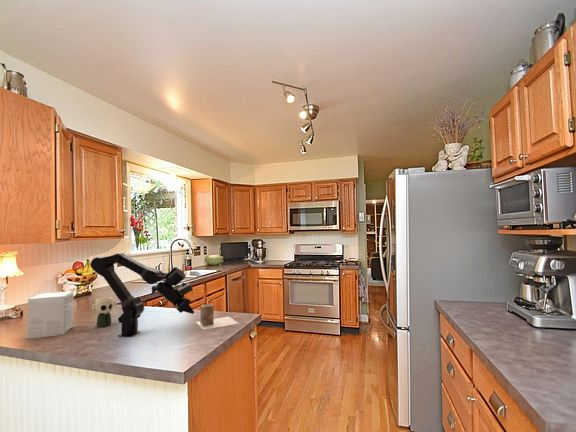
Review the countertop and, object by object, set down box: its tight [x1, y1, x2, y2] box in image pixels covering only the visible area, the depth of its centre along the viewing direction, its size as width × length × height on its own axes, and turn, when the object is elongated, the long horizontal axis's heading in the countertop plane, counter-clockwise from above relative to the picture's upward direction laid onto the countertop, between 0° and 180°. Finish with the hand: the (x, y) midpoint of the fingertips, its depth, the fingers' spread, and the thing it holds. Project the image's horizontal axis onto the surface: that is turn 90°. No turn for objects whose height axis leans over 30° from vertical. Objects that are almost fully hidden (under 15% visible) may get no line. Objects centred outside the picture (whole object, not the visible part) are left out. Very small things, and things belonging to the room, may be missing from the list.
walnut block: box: [199, 303, 215, 327], centre depth 137 cm, size 5×5×9 cm
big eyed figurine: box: [91, 297, 117, 327], centre depth 140 cm, size 11×7×13 cm, turn 145°
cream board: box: [196, 316, 239, 331], centre depth 139 cm, size 17×14×1 cm
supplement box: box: [25, 290, 74, 340], centre depth 131 cm, size 13×13×18 cm
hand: (193, 312), depth 134 cm, fingers closed
